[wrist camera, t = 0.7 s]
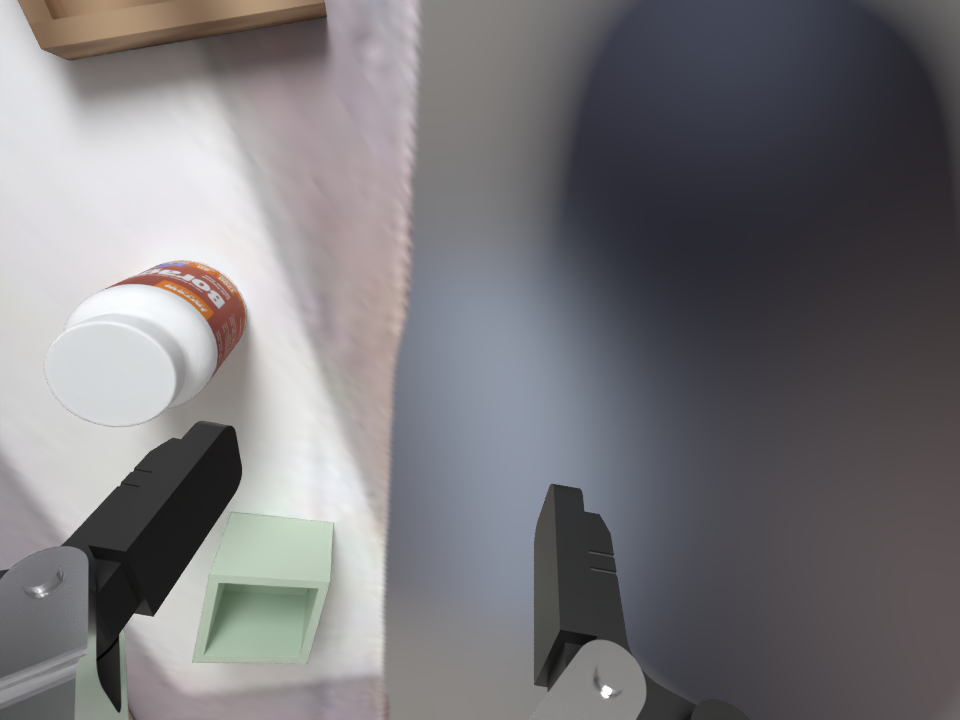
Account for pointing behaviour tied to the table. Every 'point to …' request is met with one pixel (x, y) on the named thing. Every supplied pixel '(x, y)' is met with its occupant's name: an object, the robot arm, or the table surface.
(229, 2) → the tray
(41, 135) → the table surface
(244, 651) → the pale green bin
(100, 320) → the pill bottle
